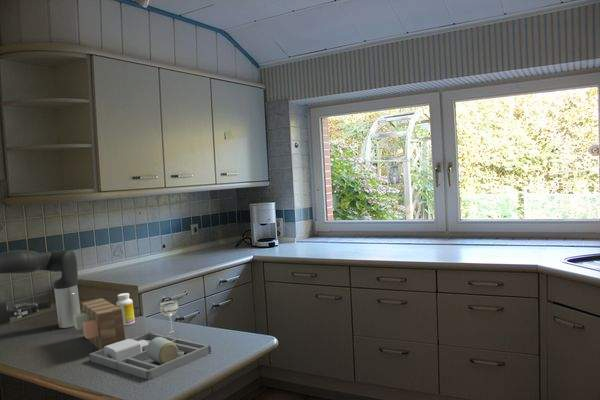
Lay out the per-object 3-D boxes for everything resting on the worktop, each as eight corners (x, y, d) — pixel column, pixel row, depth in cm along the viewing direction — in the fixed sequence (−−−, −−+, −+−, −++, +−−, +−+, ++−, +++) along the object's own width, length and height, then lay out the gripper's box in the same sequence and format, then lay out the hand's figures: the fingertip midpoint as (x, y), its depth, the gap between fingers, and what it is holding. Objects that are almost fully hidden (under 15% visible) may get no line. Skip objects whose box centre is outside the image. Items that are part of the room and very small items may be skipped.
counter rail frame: (89, 360, 172) (89, 353, 172) (150, 338, 190) (149, 332, 190) (148, 379, 150) (147, 371, 150) (211, 352, 168) (210, 345, 168)
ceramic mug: (160, 368, 158) (158, 344, 158) (147, 363, 164) (145, 340, 164) (189, 358, 166) (187, 335, 165) (176, 353, 171) (174, 331, 171)
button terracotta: (84, 336, 183) (82, 322, 183) (98, 332, 186) (96, 319, 186) (87, 338, 179) (85, 325, 179) (101, 335, 182) (100, 321, 182)
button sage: (74, 327, 197) (73, 315, 196) (88, 324, 199) (86, 311, 199) (77, 330, 192) (75, 317, 192) (91, 326, 195) (89, 314, 195)
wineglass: (162, 332, 197) (158, 302, 196) (179, 329, 199) (176, 299, 199) (164, 337, 191) (161, 306, 190) (182, 333, 193) (179, 302, 193)
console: (85, 336, 202) (81, 302, 201) (105, 331, 207) (101, 298, 206) (103, 353, 179) (98, 314, 178) (126, 346, 184) (121, 309, 183)
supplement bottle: (137, 321, 218) (134, 291, 218) (131, 325, 212) (127, 295, 211) (123, 322, 219) (119, 292, 219) (116, 326, 213) (112, 296, 212)
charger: (157, 350, 177) (117, 364, 167) (144, 345, 184) (104, 359, 173) (156, 336, 177) (115, 350, 166) (143, 332, 184) (103, 345, 173)
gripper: (-9, 308, 159) (52, 296, 169) (-12, 302, 170) (45, 291, 180) (-6, 331, 160) (54, 318, 170) (-9, 323, 171) (48, 311, 181)
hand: (49, 304), depth 175 cm, fingers closed
